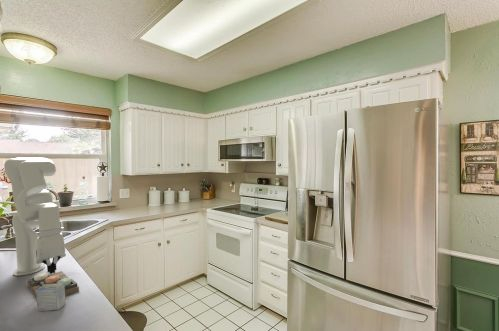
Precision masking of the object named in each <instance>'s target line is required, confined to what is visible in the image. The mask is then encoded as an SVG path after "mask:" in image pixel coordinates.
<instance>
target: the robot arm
mask: <svg viewBox="0 0 499 331" xmlns="http://www.w3.org/2000/svg"><path fill="white" fill-rule="evenodd" d="M3 165H4V167H3V168H4V172H5V173H4V174H6V177H7V179H8V180H9V182H10V185H11V190H12V199H13V205H14V207H15V209H16V214H15V215H13V216H12V219H11V224H12V227H13V231H14V237H15V252H16V253H15V254H16V269H15V270H14V271H13V272H12V273H13V276H18V277H21V276H27V275H31V274H34V273H38V272H40V271H42V270H43V269H45V265H46V268H47V269H46V270H47V273H49V274H54V273H56V270H57V264H58V262H59V261H60V260H61V259H62V258H64V257H66V255H67V254H66V244H65V239H64V236H63V233H62V231H65V227H61V218H60V206H59V204H56V203H54V200H53V196H52V193H51V192H50V190H47V189H46V188H47V182H46V180H45V177H52V176H54V175H55V174H56V170H57V168H56V165H55V163H54V161H53V160H51V159H49V158H46V157H15V158H9V159H6V160H5V162H4V164H3ZM36 228H37V229H38V233H37V232H36V231H35V230H34V229H36ZM50 259H52V260H50Z"/></svg>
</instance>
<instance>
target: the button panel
mask: <svg viewBox="0 0 499 331" xmlns="http://www.w3.org/2000/svg"><path fill="white" fill-rule="evenodd" d="M47 273H48V277H50V276H54V275H59V280H61V279H65V278H70V277H69V276H68V275H67V274H65V273H64V272H63V271H58V272H55V273H52V274H50V273H49V272H47ZM44 284H45V280H41V281H38V282H34V277H31V278H29V279H28V281H27V287H28V288H29V289H30V290H31V292H32V294H33V295H34V296H35V297H36V298H37V294H36V290H37V289H38V288H40V287H41V286H43V285H44ZM53 284H57V282H56V283H53ZM77 292H80V286H79V285H78V283H77V281H76V280H75V279H73V278H71V285H68V286H65V297H67V296H70V295H73V294H75V293H77Z"/></svg>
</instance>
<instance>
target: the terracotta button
mask: <svg viewBox="0 0 499 331" xmlns="http://www.w3.org/2000/svg"><path fill="white" fill-rule="evenodd" d="M58 281H59V275H54V276H50V277H48V278H46V279H45V284H53V283H56V282H58Z"/></svg>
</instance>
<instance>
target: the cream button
mask: <svg viewBox="0 0 499 331" xmlns="http://www.w3.org/2000/svg"><path fill="white" fill-rule="evenodd" d="M48 273H49V272H40V273H37V274H36V275H34V276H33V278H34V282H38V281H41V280H45V279H46V278H48Z"/></svg>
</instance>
